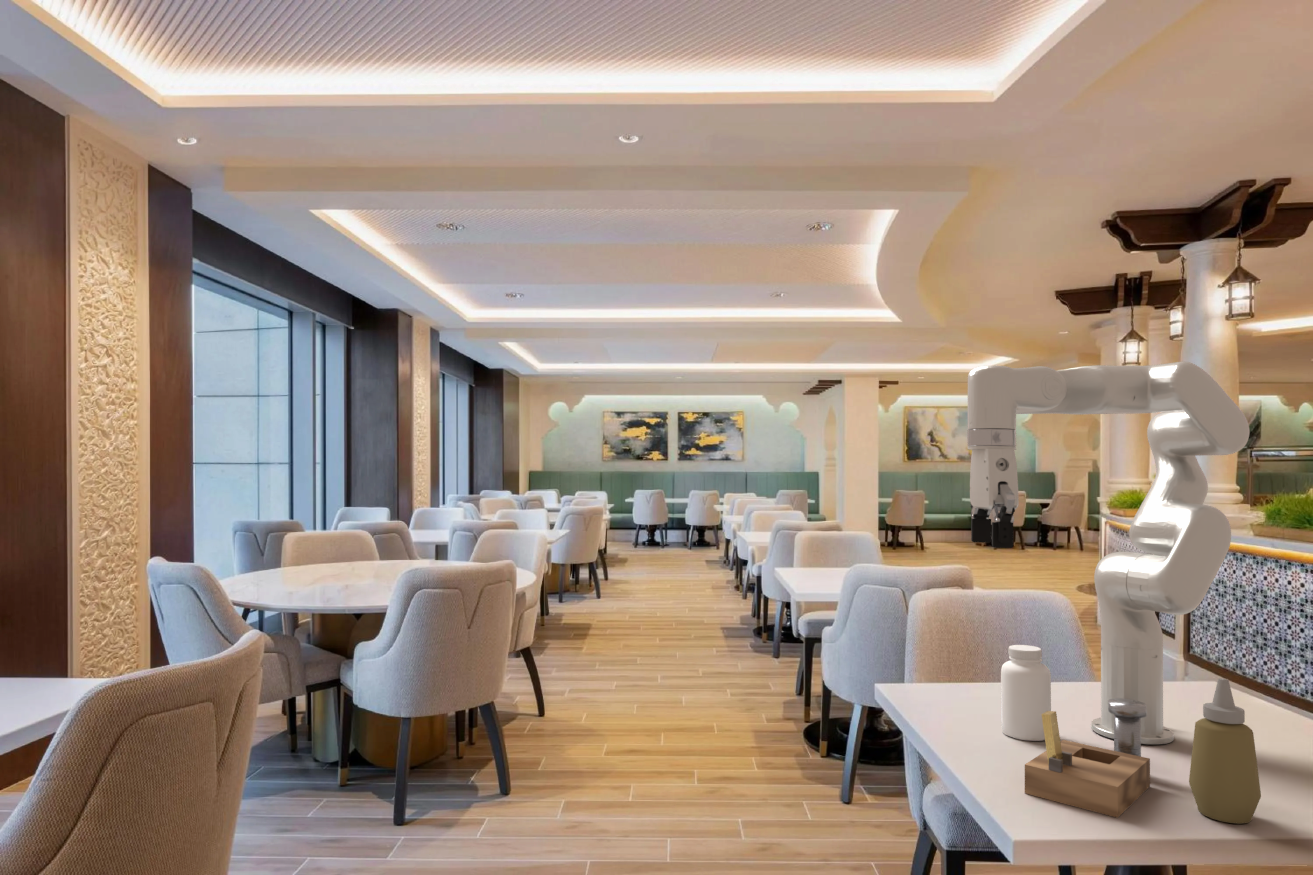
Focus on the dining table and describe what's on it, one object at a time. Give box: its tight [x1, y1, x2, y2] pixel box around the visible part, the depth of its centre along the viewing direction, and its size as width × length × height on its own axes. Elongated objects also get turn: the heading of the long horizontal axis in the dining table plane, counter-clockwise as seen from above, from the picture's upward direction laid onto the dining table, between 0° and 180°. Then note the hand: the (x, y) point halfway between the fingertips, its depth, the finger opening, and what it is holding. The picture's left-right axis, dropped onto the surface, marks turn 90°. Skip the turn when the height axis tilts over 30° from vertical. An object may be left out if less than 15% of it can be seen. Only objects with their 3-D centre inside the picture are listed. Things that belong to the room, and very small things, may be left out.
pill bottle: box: [1000, 644, 1052, 742], centre depth 149 cm, size 8×8×15 cm
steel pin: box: [1108, 698, 1147, 757], centre depth 131 cm, size 5×5×10 cm
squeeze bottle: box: [1188, 678, 1262, 825], centre depth 115 cm, size 8×8×18 cm
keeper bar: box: [1041, 710, 1063, 765], centre depth 122 cm, size 2×7×1 cm
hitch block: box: [1024, 739, 1151, 819], centre depth 123 cm, size 16×12×6 cm
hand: (991, 544), depth 142 cm, fingers open, 9 cm apart
